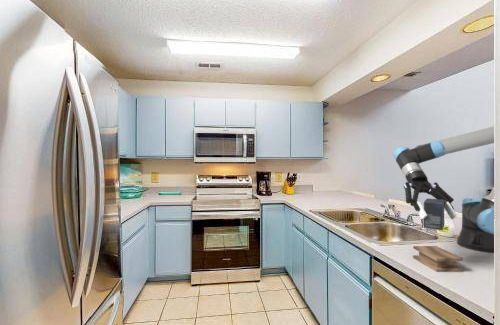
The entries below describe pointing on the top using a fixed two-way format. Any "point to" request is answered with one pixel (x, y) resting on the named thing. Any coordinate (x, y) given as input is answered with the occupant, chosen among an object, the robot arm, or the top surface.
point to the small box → (434, 214)
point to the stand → (437, 259)
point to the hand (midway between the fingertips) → (439, 217)
